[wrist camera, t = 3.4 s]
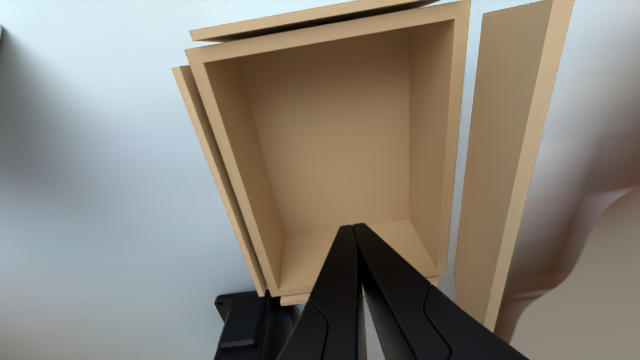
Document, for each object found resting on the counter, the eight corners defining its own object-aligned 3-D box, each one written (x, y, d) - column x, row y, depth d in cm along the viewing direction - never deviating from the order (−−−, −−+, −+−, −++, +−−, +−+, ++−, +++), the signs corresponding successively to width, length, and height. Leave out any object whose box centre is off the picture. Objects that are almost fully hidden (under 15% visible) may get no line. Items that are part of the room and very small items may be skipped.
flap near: (453, 273, 14) (459, 274, 14) (473, 377, 10) (481, 378, 10) (483, 13, 9) (493, 11, 8) (553, -2, 4) (576, -6, 4)
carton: (415, 226, 19) (449, 284, 15) (275, 246, 20) (263, 308, 15) (420, 2, 13) (481, -23, 8) (212, 39, 13) (158, 36, 9)
